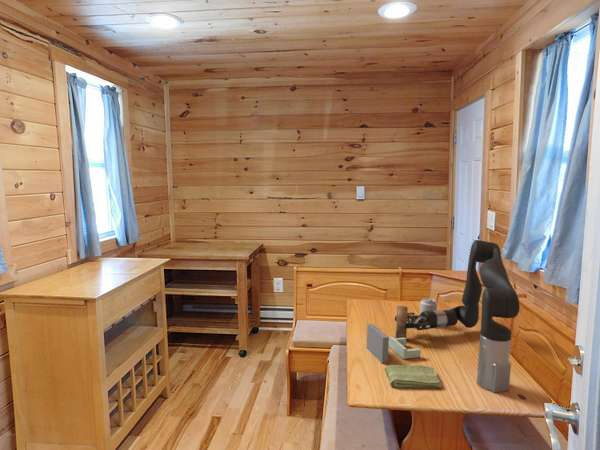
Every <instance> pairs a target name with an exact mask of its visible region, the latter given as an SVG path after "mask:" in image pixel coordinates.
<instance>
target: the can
mask: <svg viewBox="0 0 600 450" xmlns="http://www.w3.org/2000/svg"><path fill="white" fill-rule="evenodd" d="M437 305H438V303H437V301H436V299H435V298H430V297H424V298H422V299H421V301H420V302H419V315H420V314H421V313H422V312H423V311H434V310H437V309H438V306H437Z"/></svg>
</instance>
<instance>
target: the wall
mask: <svg viewBox="0 0 600 450" xmlns="http://www.w3.org/2000/svg"><path fill="white" fill-rule="evenodd" d="M366 327H367V328H366V349H367V350H368V351H369V352H370V353H371V355H373V356H374V357H375V358H376V359H377V360H378V362H380V363H381V364H388V363H389V348H390V347H389V337H390V336H388V335H387V334H386V333H384V331H382V330H381V329H380V328H378V327H377V326H376V325H375V324H374V323H368V324H367V325H366Z"/></svg>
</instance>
